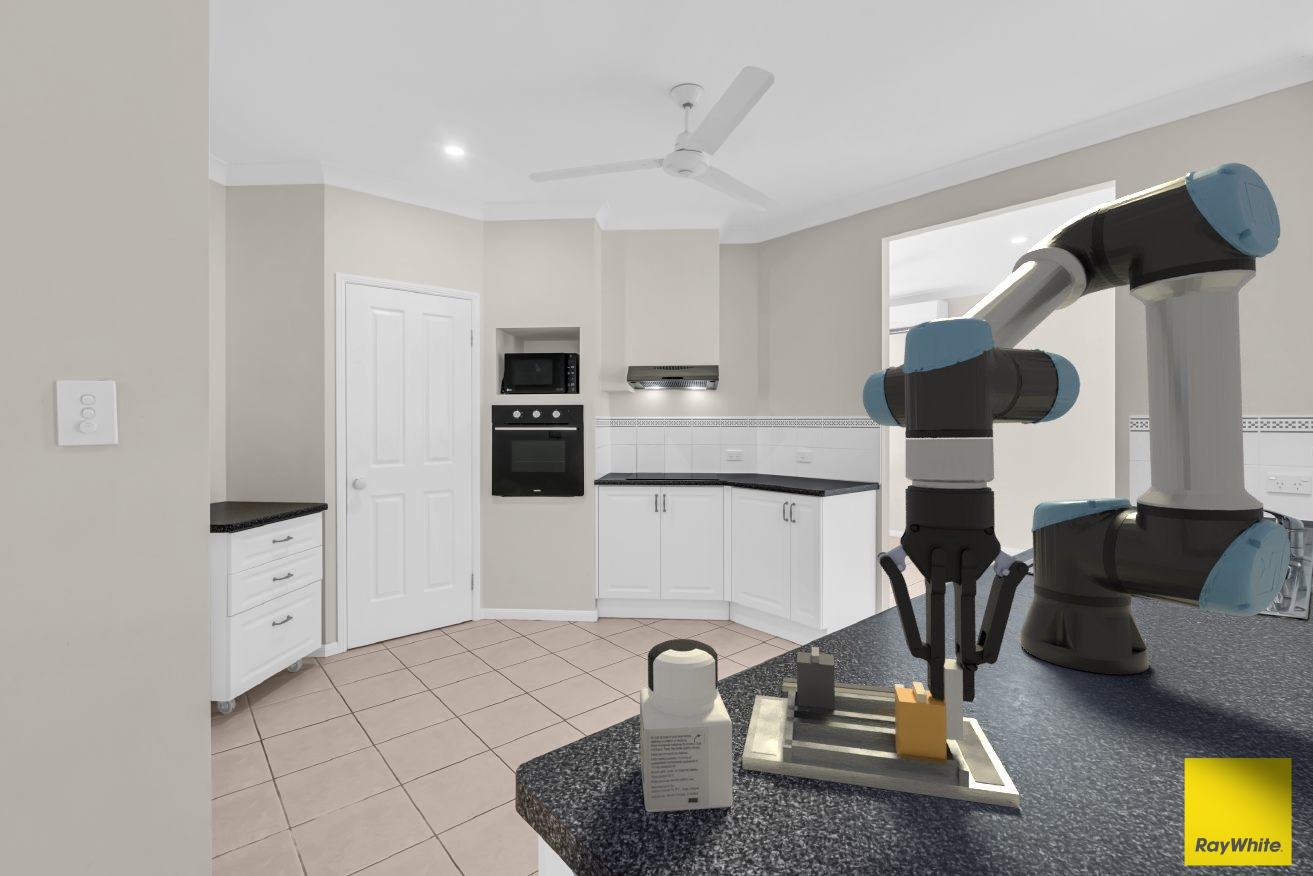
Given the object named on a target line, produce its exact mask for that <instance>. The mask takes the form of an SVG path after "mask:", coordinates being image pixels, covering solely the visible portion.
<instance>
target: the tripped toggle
mask: <svg viewBox="0 0 1313 876" xmlns="http://www.w3.org/2000/svg"><path fill="white" fill-rule="evenodd" d="M894 688H895V741H896V751H897V753H898V754H906V755H914V756H922V757H929V758H937V759H945V760H947V752H946V705H945V703H944V701H943V699H934V698H933V697H932V695H931V693H930V691H929V689H928V690H927V689H926V690H925V687H924V685H923V683H922V682H919V681H912V687H911V688H905V687H904V688H898V687H894Z"/></svg>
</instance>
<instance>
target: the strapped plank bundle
mask: <svg viewBox="0 0 1313 876" xmlns="http://www.w3.org/2000/svg"><path fill="white" fill-rule="evenodd" d="M782 681H783V682H782V690H781V694H782V696H781V698H788V692H789V687H791V688H797V678H793V677H783V680H782ZM893 686H894V688H893V687H887V686H885V687H884V686H874V685H863V684H852V683H844V682H835V692H840V693H850V694H859V695H869V696H879V697H889V698H895V687H898V688H905V686H904V684H901V683H900V684H899V683H894V684H893Z"/></svg>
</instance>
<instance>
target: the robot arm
mask: <svg viewBox="0 0 1313 876" xmlns="http://www.w3.org/2000/svg"><path fill="white" fill-rule="evenodd" d="M1280 222H1281V221H1280V216H1279V212H1278V208H1277V205H1276V202H1275V200H1274V197H1273V195H1272V192H1271V191H1270V189H1269V187H1268V185H1267V184H1266V183H1265V181H1264V179H1263V178H1262V177H1261V176H1260V174H1259V173H1258V172H1257V171H1255V170H1254V169H1253V168H1252V167H1250V166H1248V165H1246V164H1243V163H1238V162H1229V163H1228V162H1227V163H1223V164H1220V165H1217V166H1216V165H1215V166H1213V167H1210V168H1207V169H1203V170H1200V171H1191V172H1188V173H1187V174H1186V175H1184V176H1182V177H1178V178H1175V179H1172V180H1170V181H1167V182H1165V183H1161V184H1159V185H1155V186H1152V187H1150V188H1149V187H1148V188H1147V189H1144V190H1141V191H1137V192H1135V193H1132V194H1129V195H1126V196H1123V197H1121V198H1117V199H1115V200H1112V201H1107V202H1105V203H1101V204H1099V205H1096V206H1094V207H1091V208H1090V209H1088V210H1086V211H1084V212H1082V213H1080V214H1079V215H1077V216H1075V217H1073V218H1072V219H1070V220H1069V221H1067V222H1065V223H1064V224H1062V225H1061V226H1059V227H1058V228H1057V229H1055V230H1053V231H1052V232H1051V233H1050V234H1048V235H1047V236H1045V237H1044V238H1043V239H1042V240H1040V241H1039V242H1038V243H1037V244H1035V245H1033V246H1032V247H1031V248H1030V249H1029V250H1028V251H1026V252H1025V253H1024V254H1023V255H1022V256H1020V258H1018V260H1017V261H1016V262H1015V264H1014V265H1013V268H1012V272H1011V274H1010V275H1009V276H1007V277H1006V278H1005V279H1004V280H1003V281H1002V282H1000V283H999V284H998V285H997V286H995V287H994V288H993V289H992V290H991V291H990V292H988V293H987V294H986V295H985V296H983V297H982V298H981V299H980V300H979V301H978V302H976V303H975V304H974V305H973V306H972V307H970V308H969V309H968V310H967V311H966V312H965V313H963V314H961V316H960V317H948V318H947V317H946V318H939V319H938V318H937V319H933V320H929V321H924V322H921V323H918V324H916V325H914V326H913V327H911V328H910V329H909V330H908V331H907V333H906V336H905V340H904V341H905V344H904V357H903V364H900V365H899V366H888V367H886V368H883V369H880V370H877V371H875V372H873V373H872V374H871V375H869V376H868V378H867V379H866V382H865V384H864V386H863V390H862V403H863V407H864V410H865V411H866V414H867V415H868V417H869V418H870V420H872V421H873V422H874V423H876V424H878V425H881V426H882V427H883V426H884V427H900V428H903V429H904V428H905V433H904V434H905V478H906V479H907V480H909V481H911V483H912V484H911V485H907V488H905V528H904V529H905V530H904V532H903V534H902V536H901V537H900V540H899V541H900V542H899V543H900V544H899V545H898V546H895V547H894V548H892V549H890V550H888V551H887V552H885V551H882V552H879V553H878V554H877V557H876V558H877V561H878V563H879V565H880V566H881V568H882V570H883V571H884V572H885V574H886V575H887V577H888V579H889V580H888V581H889V583H890V587H891V590H892V594H893V598H894V602H895V605H896V606H895V607H896V610H897V612H898V617H899V621H900V623H901V628H902V630H903V631H902V632H903V636H904V639H905V644H906V646H907V648H908V650H909V652H910V654H911V656H913V658H916V659H921V660H924V661H925V662H927V663H926V666H927V668H926V669H927V670H926V671H927V689H928V690H929V691H930V693H931V695H932V697H933V698H934V699H943V701H944V703H945V705H946V739H952V740H961V741H963V717H964V702H968V703H973V701H974V700H975V697H976V691H975V689H976V688H975V681H976V680H975V679H976V678H975V677H976V675H975V672H977V671H978V669H979V666H980V665H983V664H988V665H993V664H996V662H997V661H998V659H999V655H1000V651H1001V648H1002V647H1001V646H1002V645H1003V640H1004V636H1005V632H1006V629H1007V624H1008V621H1009V616H1010V613H1011V609H1012V606H1013V603H1014V598H1015V594H1016V591H1017V588H1018V586H1019V585H1020V584H1021V582H1022V581H1023V580H1024V578H1025V577H1026V576H1027V575H1028V573H1029V571H1030V567H1029V565H1028V564H1027V563H1025V562H1024V561H1022V560H1020V559H1019V558H1016V557H1014V556H1011V555H1010V554H1007V552H1004V551H1003V550H1002V545H1001V542H1000V541H999V539H998V538H997V536H996V532H995V529H996V528H995V526H996V525H995V491H994V490H992V489H993V488H992V487H988V485H987V484H988V483H991V482H992V481H993V480H995V460H994V458H995V457H994V424H1009V423H1010V424H1017V423H1021V424H1023V425H1028V424H1034V425H1036V424H1039V423H1047V422H1051V421H1055V420H1058V419H1060V418H1061V417H1063V416H1065V415H1066V414H1067V413H1068V412H1069V411H1070V410H1071V409H1072V408H1073V406H1074V405H1075V404H1076V403H1077V400H1078V397H1079V395H1080V392H1081V391H1080V387H1081V381H1080V375H1079V373H1078V370H1077V369H1076V367H1075V365H1074V364H1073V363H1072V362H1071V361H1070V360H1068V359H1067V358H1066V357H1064V356H1062V355H1060V354H1057V353H1054V352H1051V351H1050V352H1049V351H1045V350H1043V349H1042V350H1040V348H1032V349H1023V348H1015V347H1016V346H1017V345H1018V344H1019V343H1020V342H1021V341H1023V340H1024V338H1026V337H1027V336H1028V335H1029V334H1031V332H1033V331H1034V330H1035V329H1036V328H1037V327H1038V326H1039V325H1041V323H1042V322H1043V321H1044V320H1046V319H1047V318H1048V317H1049V316H1050V315H1052V313H1054V312H1055V311H1059V310H1063V309H1066V308H1068V307H1069V306H1072V305H1073V304H1074V303H1076V302H1077V301H1078V300H1079V299H1081V298H1083V297H1084V296H1086V295H1089V294H1093V293H1097V292H1101V291H1104V290H1108V289H1109V290H1110V289H1114V288H1117V287H1125V286H1128V285H1129V295H1130V296H1131V297H1133V298H1134V299H1137V300H1138V301H1140V302H1141V303H1142V304H1143V305H1144V307H1145V309H1144V310H1145V337H1146V338H1145V339H1146V341H1145V342H1146V364H1147V365H1146V367H1147V368H1146V369H1147V393H1148V394H1147V395H1148V397H1147V398H1148V399H1147V400H1148V424H1149V425H1148V427H1149V452H1150V453H1149V454H1150V456H1149V457H1150V487H1149V488H1148V489H1147V490H1146V491H1145V492H1144V493H1143V494H1141V495H1140V496H1138V497H1137V498H1136V509H1132V508H1133V504H1132V503H1131V501H1130V499H1128V498H1126V497H1112V498H1111V497H1107V498H1084V499H1083V498H1082V499H1067V500H1066V499H1065V500H1051V501H1044V502H1041V503H1039V504H1037V505H1036V506H1035V508H1034V510H1033V516H1032V528H1031V533H1032V563H1033V565H1032V567H1033V573H1032V574H1033V598H1032V601H1031V603H1030V605H1029V607H1028V611H1027V613H1026V616H1025V619H1024V621H1023V624H1022V626H1021V629H1020V646H1021V648H1022V647H1023V648H1022V649H1023V650H1024V649H1025V650H1026V651H1027V653H1028V652H1029V653H1028V654H1030V655H1031V654H1032V655H1031V656H1033V655H1034V657H1035V656H1036V658H1037V659H1040V660H1043V661H1045V662H1048V663H1051V664H1053V665H1058V666H1061V667H1065V668H1069V669H1073V670H1077V671H1083V672H1090V673H1097V674H1098V673H1099V674H1105V675H1106V674H1107V675H1108V674H1109V675H1133V674H1141V673H1143V672H1145V671H1147V670H1148V669H1149V666H1150V665H1149V650H1148V647H1147V644H1146V642H1145V639H1144V637H1143V635H1142V632H1141V630H1140V626H1139V624H1138V622H1137V620H1136V617H1135V615H1134V612H1133V609H1132V596H1135V597H1136V596H1137V597H1141V598H1145V599H1151V600H1156V601H1160V602H1165V603H1170V604H1175V605H1178V606H1179V605H1180V606H1184V607H1187V608H1188V607H1189V608H1194V609H1198V610H1201V611H1202V612H1206V613H1213V612H1215V613H1219V614H1220V613H1221V614H1225V615H1230V616H1237V617H1253V616H1256V615H1258V614H1261V613H1262V612H1263V611H1266V610H1267V609H1268V608H1269V607H1270V606H1271V605H1272V604H1273V602H1274V601H1275V600H1276V599H1277V597H1278V595H1279V593H1280V591H1281V590H1282V587H1283V586H1284V583H1285V579H1286V578H1287V573H1288V570H1289V565H1290V557H1291V542H1290V539H1289V538H1288V535H1289V533H1288V532H1287V529H1286V528H1285V527H1284V526H1283V525H1282V524H1280V523H1278V522H1274V521H1273V520H1271V519H1265V518H1264V503H1263V502H1261V500H1258V499H1257V498H1256V497H1255V496H1253V494H1251V493H1249V492H1248V491H1247V489H1246V487H1245V466H1244V465H1245V464H1244V463H1245V462H1244V461H1245V460H1244V433H1243V432H1244V430H1243V399H1242V397H1243V395H1242V370H1241V369H1242V368H1241V367H1242V366H1241V364H1242V362H1241V339H1240V338H1241V335H1240V334H1241V333H1240V311H1239V310H1240V304H1239V302H1240V301H1239V300H1240V299H1239V293H1240V292H1241V289H1243V287H1245V286H1246V285H1247V284H1248V283H1249V282H1251V280H1252V279H1254V278H1255V277H1256V275H1257V266H1256V262H1257V260H1256V259H1257V258H1259V259H1260V258H1263V257H1265V256H1267V255H1269V254H1271V253H1272V252H1274V251H1275V250H1276V249H1277V247H1278V246H1279V242H1280V241H1279V238H1280V237H1281V223H1280ZM906 557H908V559H910V561H911V563H912V564H913V565H914V566H915V567H916V569H917V571H919V573H920V574H921V575H922V576H923V577H924V586H925V642H924V641H922V638H921V634H920V631H919V630H920V629H919V627H918V622H917V619H916V616H915V611H914V608H913V605H912V601H911V597H910V593H909V590H908V585H907V583H906V579H905V577H904V575H903V572H904V571H906V569H907V563H906V562H905V561H906ZM993 562H994V566H993V572H994V573H995V576H994V577H993V580H992V582H991V583H992V584H991V587H990V589H989V590H990V591H989V594H988V599H987V602H986V607H985V610H984V614H983V618H982V621H981V625H980V629H979V632H978V637H977V638H976V634H977V633H976V631H977V630H976V596H977V581H978V580H979V579H981V577H982V576H983V574H984V573H985V572H986V571H987V570H988V569H989V568H990V566H991V565H992V564H993ZM947 583H952V585H953V591H954V597H953V598H954V600H953V601H954V654H955V656H956V657H955V658H956V659H954V658H953V659H951V658H946V604H945V603H946V601H945V600H946V599H945V598H946V593H947V588H946V587H947ZM976 639H977V640H976ZM1025 650H1024V651H1025ZM1026 651H1025V652H1026Z"/></svg>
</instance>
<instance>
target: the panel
mask: <svg viewBox="0 0 1313 876" xmlns="http://www.w3.org/2000/svg"><path fill="white" fill-rule="evenodd" d="M747 730H748V731H747V735H746V739H745V744H744V749H743V753H742V769H743V770H749V771H755V772H756V771H757V772H763V773H769V774H776V775H783V776H791V777H798V778H803V779H804V778H806V779H812V780H819V781H825V782H826V781H827V782H832V783H840V784H848V785H855V786H859V787H860V786H861V787H868V788H877V789H883V790H888V791H890V790H891V791H897V792H901V793H902V792H903V793H904V792H905V793H910V794H917V795H918V794H919V795H925V796H932V797H936V798H937V797H939V798H946V799H952V800H959V801H966V802H973V803H981V804H988V805H993V806H994V805H996V806H1003V807H1009V808H1016V809H1020V793H1019V791H1018V789H1017V788H1016V785H1014V782H1013V781H1012V778H1011V777H1010V776H1009V773H1007V771H1006V769H1005V767H1004V766H1003V763H1002V762H1001V760H1000V759H999V756H998V755H997V753H996V752H995V750H994V749H993V746H992V745H991V744H990V742H989V740H988V738H987V737H986V736H987V735H986V734H985V733H984V731H983V729H982V728H981V726H980V724H979V722H978V720H977V719H976V718H972V717H964V716H963V741H961V740H952V739H946V752H947V760H945V759H937V758H929V757H922V756H914V755H906V754H898V753H897V751H896V741H895V698H889V697H879V696H869V695H859V694H850V693H840V692H835V710H826V709H817V708H808V707H799V706H797V688H791V687H789V692H788V698H782V697H779V696H768V695H760V694H756V695H755V698H754V704H753V708H752V713H751V717H750V721H749V726H748V729H747Z"/></svg>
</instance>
